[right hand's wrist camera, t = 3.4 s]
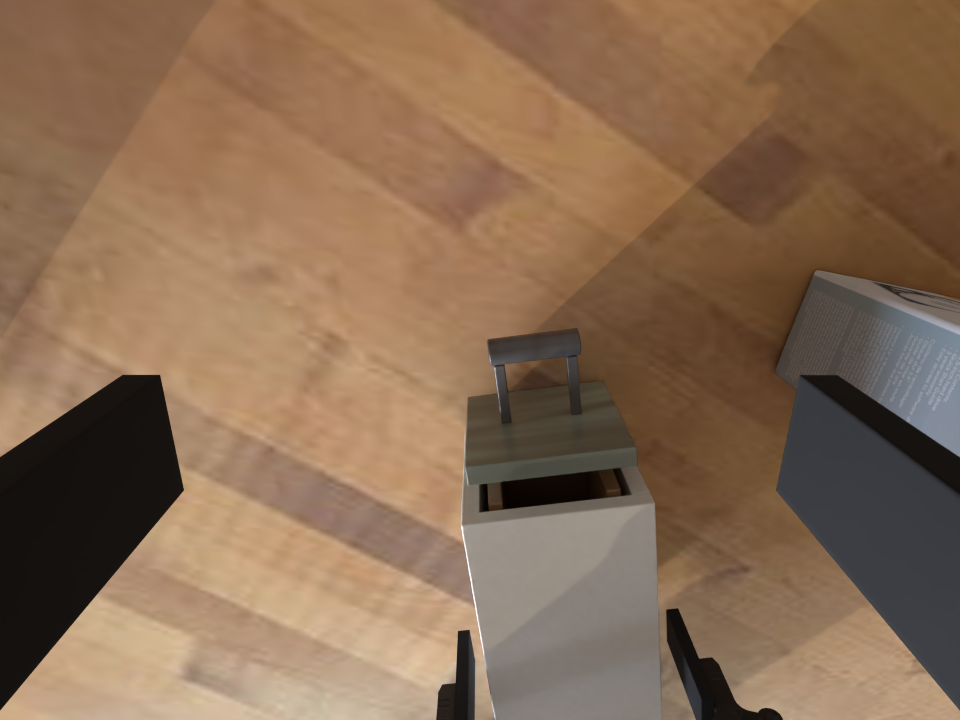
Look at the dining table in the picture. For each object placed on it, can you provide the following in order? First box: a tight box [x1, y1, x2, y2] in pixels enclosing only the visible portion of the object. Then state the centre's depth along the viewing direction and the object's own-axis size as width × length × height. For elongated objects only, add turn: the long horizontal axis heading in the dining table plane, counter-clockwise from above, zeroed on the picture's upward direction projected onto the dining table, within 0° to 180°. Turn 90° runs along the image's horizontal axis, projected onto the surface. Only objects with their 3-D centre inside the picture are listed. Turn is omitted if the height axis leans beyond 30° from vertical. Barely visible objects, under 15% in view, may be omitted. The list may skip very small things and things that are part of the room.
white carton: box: [461, 430, 662, 720], centre depth 39 cm, size 16×10×11 cm, turn 8°
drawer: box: [465, 328, 637, 511], centre depth 37 cm, size 20×9×9 cm, turn 8°
